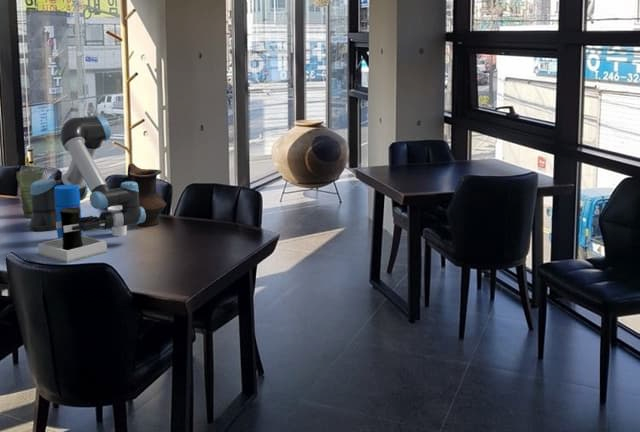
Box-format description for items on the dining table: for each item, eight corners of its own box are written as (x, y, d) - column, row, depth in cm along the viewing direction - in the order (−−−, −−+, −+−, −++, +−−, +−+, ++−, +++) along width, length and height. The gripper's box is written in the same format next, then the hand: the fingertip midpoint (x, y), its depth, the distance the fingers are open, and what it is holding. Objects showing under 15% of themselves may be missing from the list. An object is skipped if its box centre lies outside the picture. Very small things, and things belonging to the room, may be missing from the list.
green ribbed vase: (18, 218, 383) (13, 170, 377) (30, 212, 394) (26, 166, 389) (38, 218, 381) (33, 171, 375) (50, 213, 393) (46, 167, 387)
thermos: (87, 238, 345) (83, 185, 339) (73, 243, 335) (68, 189, 329) (68, 236, 348) (64, 183, 342) (53, 241, 338) (48, 188, 333)
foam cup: (123, 237, 346) (122, 210, 343) (105, 236, 348) (103, 209, 345) (132, 232, 355) (131, 206, 352) (115, 231, 357) (113, 205, 354)
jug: (175, 222, 374) (172, 164, 367) (148, 230, 359) (145, 169, 352) (145, 217, 385) (142, 160, 378) (118, 224, 370) (114, 165, 363)
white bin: (39, 254, 318) (38, 243, 317) (78, 244, 333) (77, 234, 332) (67, 263, 306) (66, 251, 305) (106, 252, 322) (106, 241, 321)
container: (75, 246, 326) (72, 206, 322) (88, 249, 321) (85, 209, 317) (57, 251, 318) (54, 210, 314) (70, 254, 313) (67, 212, 309)
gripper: (121, 232, 321) (69, 241, 307) (102, 223, 337) (52, 231, 323) (120, 215, 319) (68, 223, 305) (100, 207, 335) (50, 214, 321)
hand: (60, 227), depth 314 cm, fingers open, 8 cm apart
